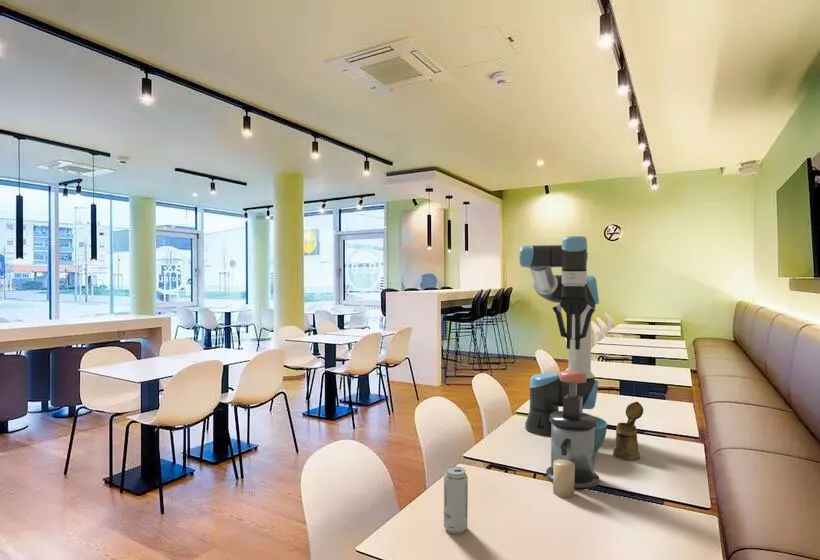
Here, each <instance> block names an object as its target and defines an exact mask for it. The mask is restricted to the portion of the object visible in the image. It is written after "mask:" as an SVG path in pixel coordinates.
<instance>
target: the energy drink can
mask: <svg viewBox="0 0 820 560" xmlns="http://www.w3.org/2000/svg"><path fill="white" fill-rule="evenodd" d="M468 481H469V478H468V475H467V473H466V470H465V468H463V467H460V466H449V467H447V468H446V472H445V474H444V475H443V527H444V528H445V530H446V532H448V533H450V534H453V535H460V534H461V535H462V534H463V533H465V532H466V529H467V528H468V511H469V510H468V509H469V508H468V507H469V506H468V497H469V496H468V490H469V487H468V486H469V485H468V484H469V482H468Z"/></svg>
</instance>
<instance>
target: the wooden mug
mask: <svg viewBox="0 0 820 560" xmlns="http://www.w3.org/2000/svg"><path fill="white" fill-rule="evenodd" d="M643 414H644V408H643V406H642V404H640V402H638V401H633V402H631V403H630V404H628V405H627V406H626V409H625V415H626V417H627V421H626V422H618V423H617V425H616V429H615V433H616V434H615V442H614V447H613V451H612V452H613V453H612V455H613V456H614V457H615V458H618V459H621V460H625V461H638V460H639V461H640V459H641V453H640V451H639V444H638V443H639V441H638V431H637V430H638V429H637V426H636V425H635V423H636V420H639V419H640V418H641V417H642V416H643Z"/></svg>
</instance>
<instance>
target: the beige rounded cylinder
mask: <svg viewBox="0 0 820 560" xmlns="http://www.w3.org/2000/svg"><path fill="white" fill-rule="evenodd" d="M552 484H553V485H552V486H553V487H552V493H553V494H554V495H555V497H556V496H557V497H559V498H563V499H571V498H574V497H575V489H574V484H575V464H574V463H573V462H571V461H569V460H564V459H558V460H555V461H554V462H553V483H552Z"/></svg>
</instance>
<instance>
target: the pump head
mask: <svg viewBox="0 0 820 560" xmlns="http://www.w3.org/2000/svg"><path fill="white" fill-rule="evenodd" d="M559 378H560V380H561V381H563V382H567V383H569V398H575V399H577V383H585V382H587V374H586V373H585V372H581V371H573V370H567V369H566V370H561V371H560V372H559Z"/></svg>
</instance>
